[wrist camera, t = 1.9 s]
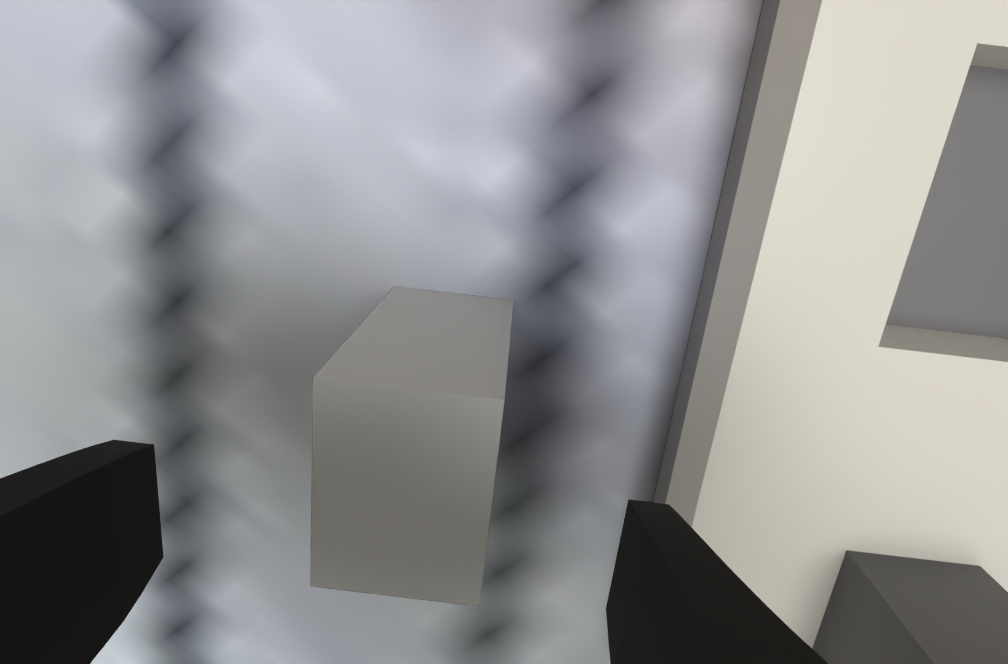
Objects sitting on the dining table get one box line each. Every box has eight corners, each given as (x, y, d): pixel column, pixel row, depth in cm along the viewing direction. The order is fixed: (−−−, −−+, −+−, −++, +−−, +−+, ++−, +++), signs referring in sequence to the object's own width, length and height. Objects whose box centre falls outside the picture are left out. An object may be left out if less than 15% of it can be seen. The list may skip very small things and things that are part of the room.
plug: (496, 441, 16) (479, 606, 11) (386, 428, 16) (310, 586, 11) (513, 300, 15) (504, 400, 9) (394, 286, 15) (313, 377, 9)
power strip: (952, 675, 18) (1041, 787, 15) (623, 636, 18) (643, 741, 15) (1250, 12, 12) (1493, -29, 9) (773, -44, 12) (856, -104, 9)
